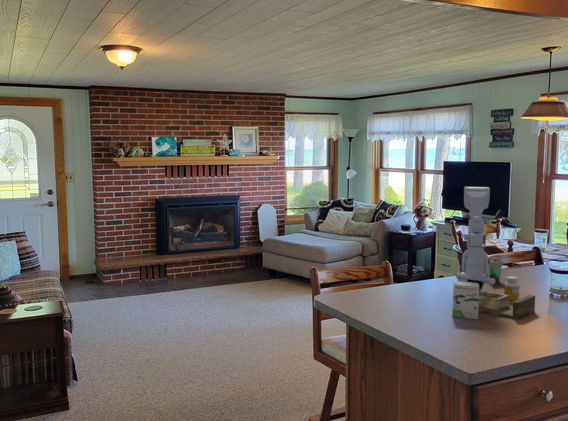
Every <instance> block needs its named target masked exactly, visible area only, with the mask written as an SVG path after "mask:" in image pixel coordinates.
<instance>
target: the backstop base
mask: <svg viewBox="0 0 568 421" xmlns="http://www.w3.org/2000/svg"><path fill="white" fill-rule="evenodd" d="M535 309H536V295H532V294H528V295H527V296H523V297H521V298H519V299H518V300H516V301H514V302H513V304H509V306H507V307H505V308H503V309H500V310H498V311H497V310H492V309H487V308H483V307H478V313H479V312H480V313H484V314H487V315H492V316H498V317H502V318H507V319H513V320H517V321H518V320H521V319H523V318H525V317H527V316H529V315H532V314H533V313H534V314H535Z"/></svg>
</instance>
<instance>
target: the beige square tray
mask: <svg viewBox="0 0 568 421" xmlns="http://www.w3.org/2000/svg"><path fill="white" fill-rule="evenodd" d="M509 305H510V303H509V295H504V293H497V292H493V291H492V292H491V291H486V290H485V291H483V292H482V293H479V304H478V307H483V308H487V309H492V310H497V311H498V310H500V309H503V308H505V307H507V306H509Z"/></svg>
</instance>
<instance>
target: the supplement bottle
mask: <svg viewBox="0 0 568 421" xmlns="http://www.w3.org/2000/svg"><path fill="white" fill-rule="evenodd" d="M518 281H519V278H518V276H510V275H509V276H507V277H506V282H505V283H504V292H503V294H504V295H509V304H510V305H513V302H514V301H516V300H518V299H520V286H521V285H520V283H518Z"/></svg>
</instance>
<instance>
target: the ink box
mask: <svg viewBox="0 0 568 421" xmlns="http://www.w3.org/2000/svg"><path fill="white" fill-rule="evenodd" d="M452 293H453V294H452V311H451V312H452V317H453V318H462V319H463V318H464V319H474V320H479V319H478V318H479V312H478V304H479V284H478V283H472V282H460V281H458V280H456V281H453V292H452Z"/></svg>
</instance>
